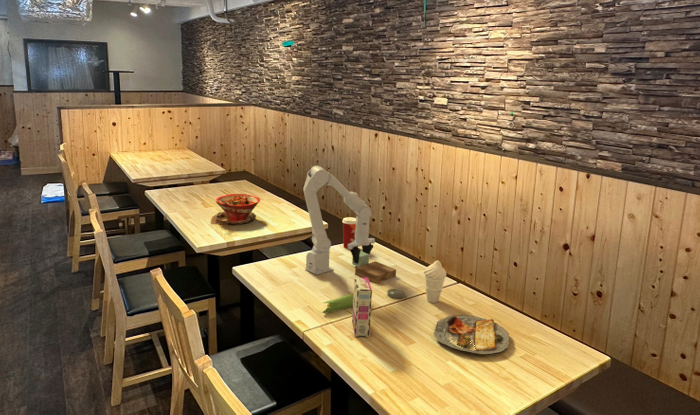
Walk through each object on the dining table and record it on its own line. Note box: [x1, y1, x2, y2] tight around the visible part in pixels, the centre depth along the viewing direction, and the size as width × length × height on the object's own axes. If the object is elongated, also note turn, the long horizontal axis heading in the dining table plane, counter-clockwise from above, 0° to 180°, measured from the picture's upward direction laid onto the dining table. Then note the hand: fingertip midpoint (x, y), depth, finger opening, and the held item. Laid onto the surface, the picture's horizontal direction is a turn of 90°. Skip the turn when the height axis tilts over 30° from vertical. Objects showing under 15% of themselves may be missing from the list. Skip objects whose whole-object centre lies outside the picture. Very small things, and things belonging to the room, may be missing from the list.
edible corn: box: [321, 292, 354, 314], centre depth 191 cm, size 5×20×5 cm
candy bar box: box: [351, 276, 373, 338], centre depth 174 cm, size 11×5×16 cm, turn 5°
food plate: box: [433, 314, 510, 355], centre depth 173 cm, size 25×23×4 cm
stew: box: [210, 193, 261, 227], centre depth 290 cm, size 28×24×16 cm
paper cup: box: [341, 216, 356, 250], centre depth 255 cm, size 8×8×14 cm
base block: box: [354, 260, 397, 284], centre depth 222 cm, size 12×12×3 cm
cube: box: [351, 250, 370, 267], centre depth 231 cm, size 5×5×5 cm
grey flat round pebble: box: [386, 288, 407, 300], centre depth 204 cm, size 7×7×2 cm
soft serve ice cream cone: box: [423, 260, 447, 304], centre depth 199 cm, size 8×8×16 cm
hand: (360, 261), depth 231 cm, fingers closed on cube, 5 cm apart
